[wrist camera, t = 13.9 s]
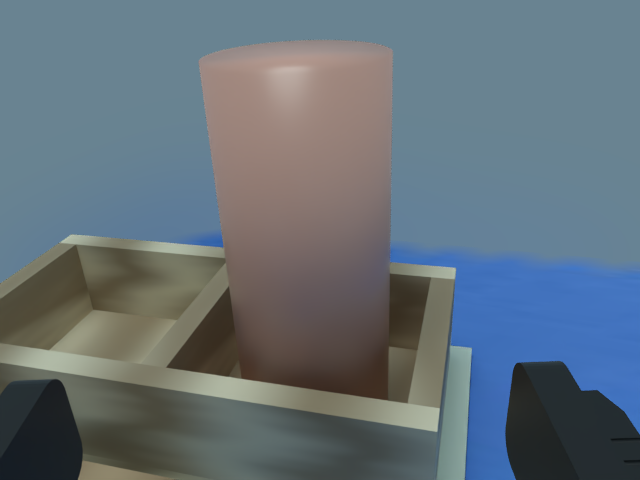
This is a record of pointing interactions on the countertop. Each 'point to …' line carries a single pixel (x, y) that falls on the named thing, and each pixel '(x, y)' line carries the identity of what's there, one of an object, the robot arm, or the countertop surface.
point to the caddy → (215, 369)
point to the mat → (455, 416)
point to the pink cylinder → (305, 208)
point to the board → (113, 473)
